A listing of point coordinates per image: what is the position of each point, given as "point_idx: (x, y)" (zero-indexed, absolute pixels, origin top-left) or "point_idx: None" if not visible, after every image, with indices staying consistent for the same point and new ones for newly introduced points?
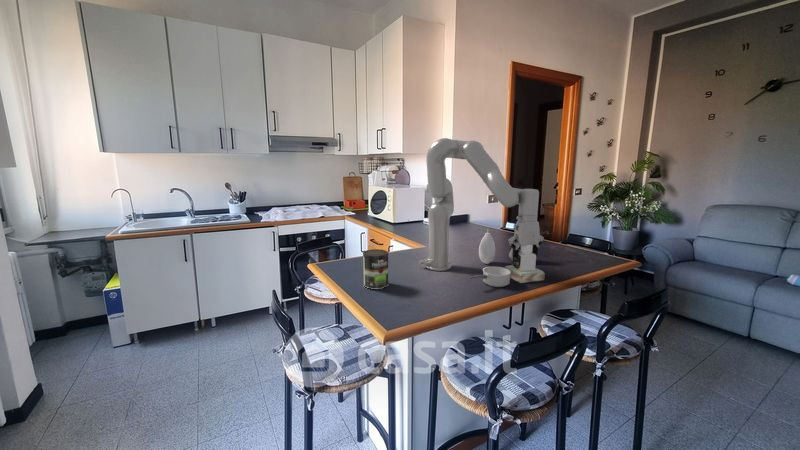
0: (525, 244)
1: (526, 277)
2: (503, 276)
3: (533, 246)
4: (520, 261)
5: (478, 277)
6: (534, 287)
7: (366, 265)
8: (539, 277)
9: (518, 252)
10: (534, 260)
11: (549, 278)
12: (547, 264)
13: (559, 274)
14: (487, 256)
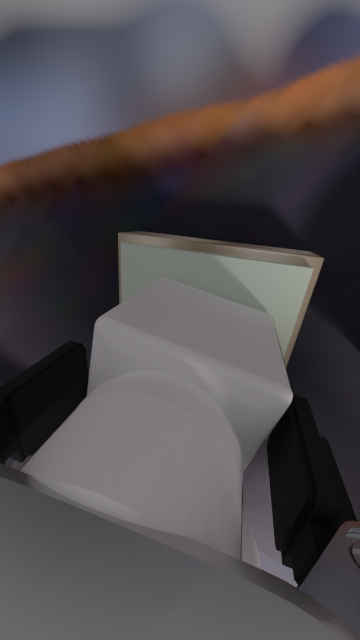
0: (216, 590)
1: (267, 249)
2: None
3: (12, 450)
4: (281, 353)
5: None
6: (296, 143)
7: None
8: (166, 235)
9: (301, 458)
10: (141, 301)
11: (98, 239)
12: (12, 367)
13: (25, 261)
14: (242, 536)
